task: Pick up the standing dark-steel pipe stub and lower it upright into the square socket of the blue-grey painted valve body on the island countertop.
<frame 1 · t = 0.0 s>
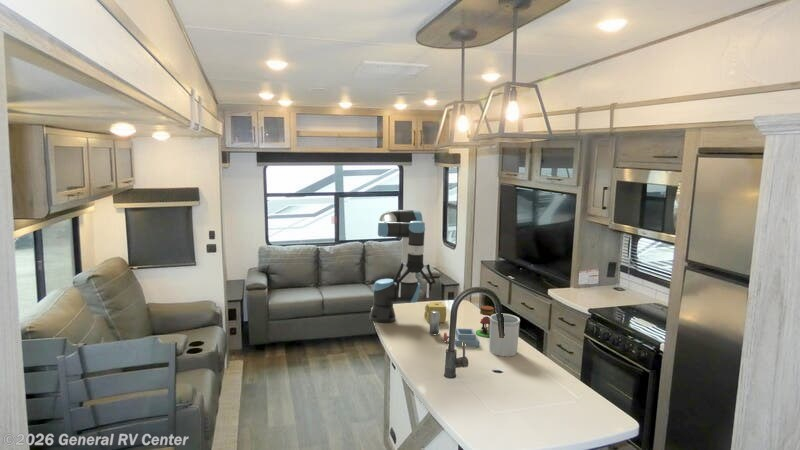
hand: (413, 296, 237), 28 cm above the worktop, fingers open, 13 cm apart
utensil holder: (502, 351, 247), on the worktop
pipe stub: (434, 333, 268), on the worktop
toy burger: (485, 334, 271), on the worktop
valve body: (464, 341, 258), on the worktop
cheese: (434, 320, 290), on the worktop
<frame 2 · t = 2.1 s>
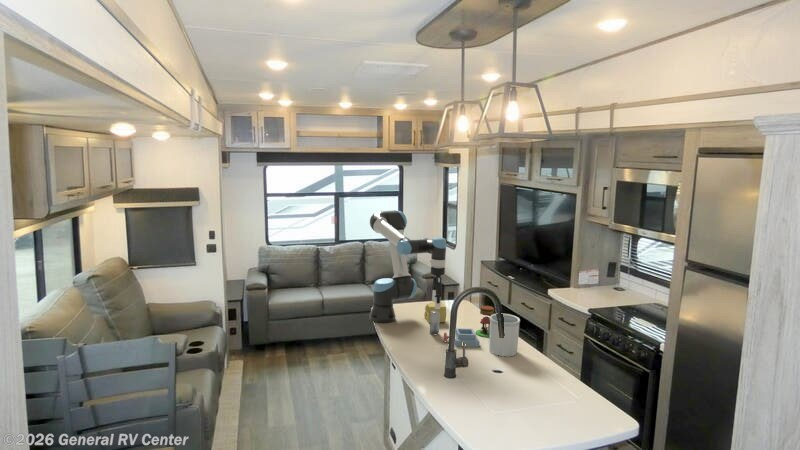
hand: (436, 305, 266), 16 cm above the worktop, fingers open, 13 cm apart
nothing on the worktop moved.
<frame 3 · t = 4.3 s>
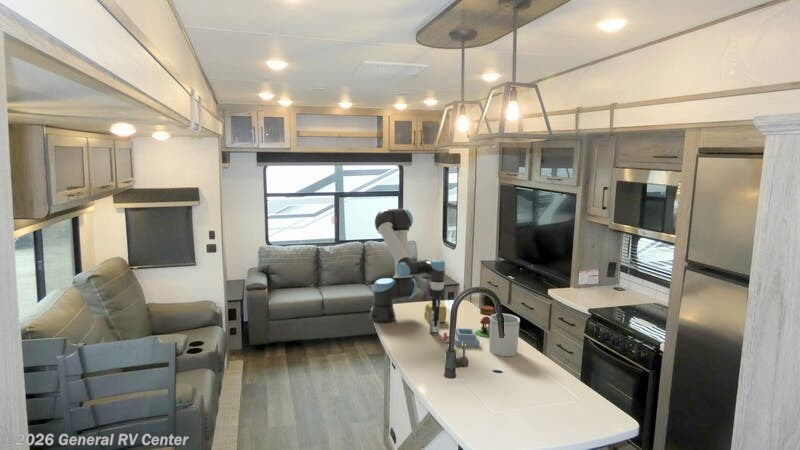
hand: (434, 329, 268), 2 cm above the worktop, fingers closed on pipe stub, 5 cm apart
pipe stub: (434, 333, 268), on the worktop, touching gripper
everything else where it was.
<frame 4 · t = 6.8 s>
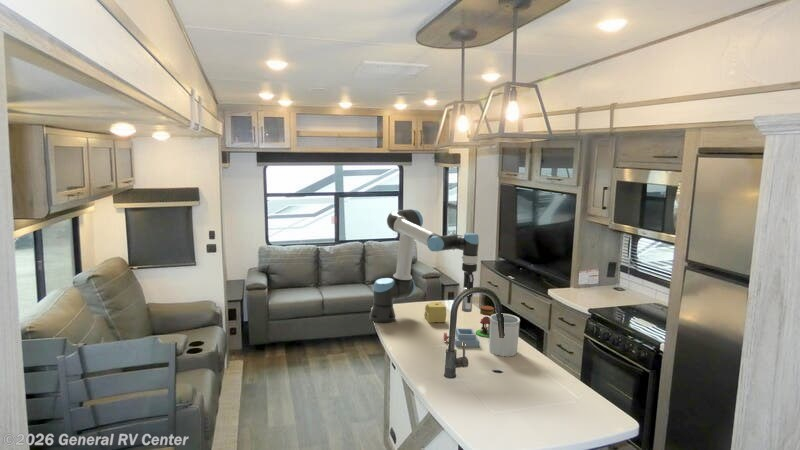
hand: (466, 306, 256), 19 cm above the worktop, fingers closed on pipe stub, 5 cm apart
pipe stub: (466, 310, 256), point 17 cm above the worktop, touching gripper
everything else where it was.
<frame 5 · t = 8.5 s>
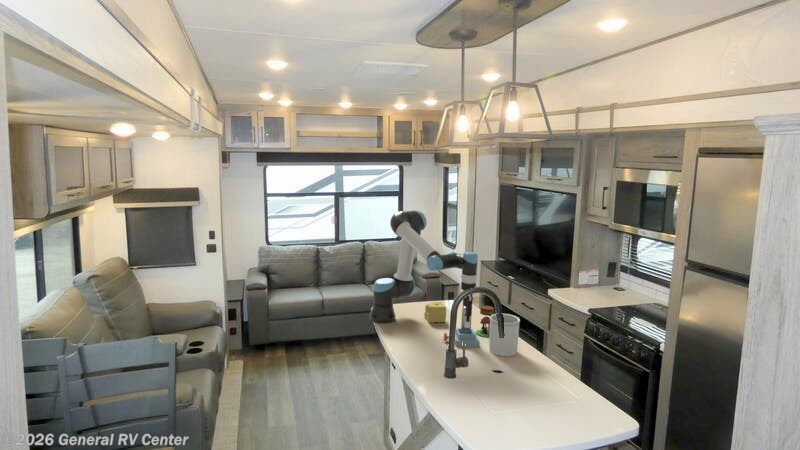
hand: (466, 325, 257), 9 cm above the worktop, fingers closed on pipe stub, 5 cm apart
pipe stub: (465, 329, 257), point 7 cm above the worktop, touching gripper
everything else where it was.
when the fingers open (6 cm above the worktop, at t = 9.7 s): pipe stub drops 1 cm, resting on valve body.
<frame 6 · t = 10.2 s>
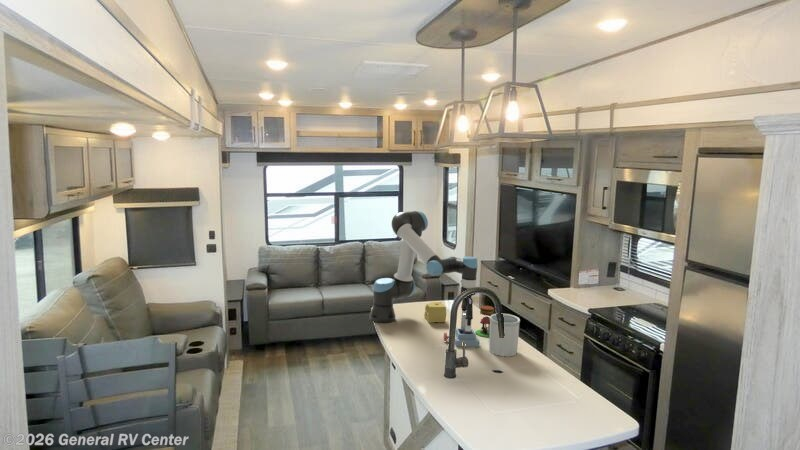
hand: (465, 326, 257), 8 cm above the worktop, fingers open, 12 cm apart
pipe stub: (465, 336, 258), point 3 cm above the worktop, touching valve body
everything else where it was.
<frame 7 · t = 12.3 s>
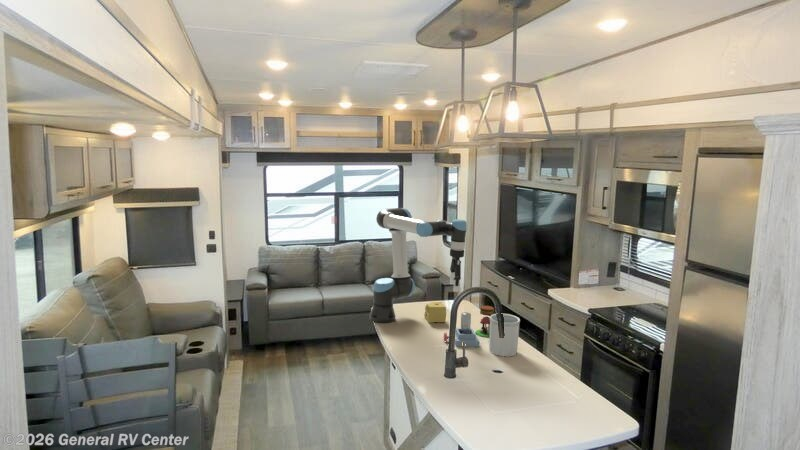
hand: (453, 287, 262), 27 cm above the worktop, fingers open, 13 cm apart
nothing on the worktop moved.
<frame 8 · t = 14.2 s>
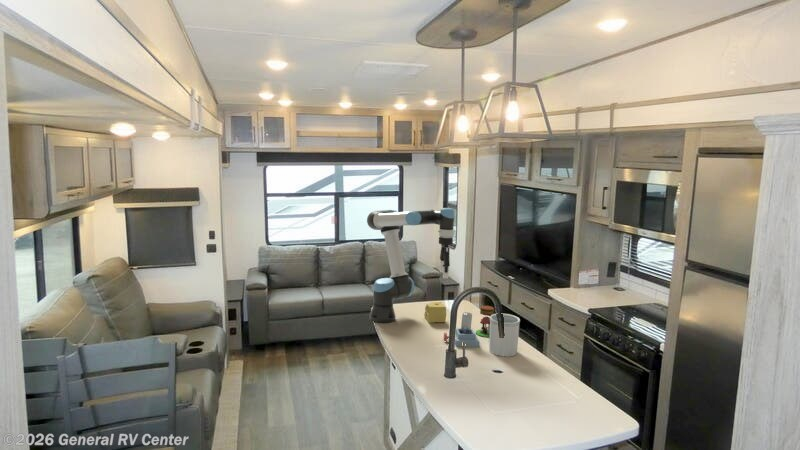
hand: (443, 275, 268), 32 cm above the worktop, fingers open, 13 cm apart
nothing on the worktop moved.
at the end: pipe stub 0.1 cm off-centre on the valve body, point 3.1 cm above the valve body's base; pipe stub tilted 2°; the gripper is holding nothing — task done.
